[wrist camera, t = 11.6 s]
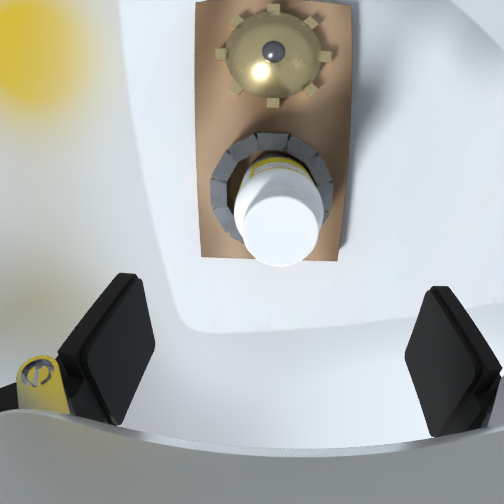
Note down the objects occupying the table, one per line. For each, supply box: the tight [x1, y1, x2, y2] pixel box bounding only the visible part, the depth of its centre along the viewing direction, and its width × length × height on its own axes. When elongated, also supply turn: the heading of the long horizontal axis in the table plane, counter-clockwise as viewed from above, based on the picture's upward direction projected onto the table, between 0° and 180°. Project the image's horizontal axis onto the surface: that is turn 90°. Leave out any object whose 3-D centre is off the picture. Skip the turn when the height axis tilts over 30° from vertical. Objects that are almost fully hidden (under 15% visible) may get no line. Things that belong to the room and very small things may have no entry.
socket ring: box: [210, 131, 334, 245], centre depth 24 cm, size 9×9×2 cm
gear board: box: [195, 0, 352, 261], centre depth 24 cm, size 12×22×2 cm, turn 0°
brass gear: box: [216, 4, 331, 108], centre depth 20 cm, size 8×8×2 cm
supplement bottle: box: [234, 153, 324, 266], centre depth 21 cm, size 5×5×10 cm
